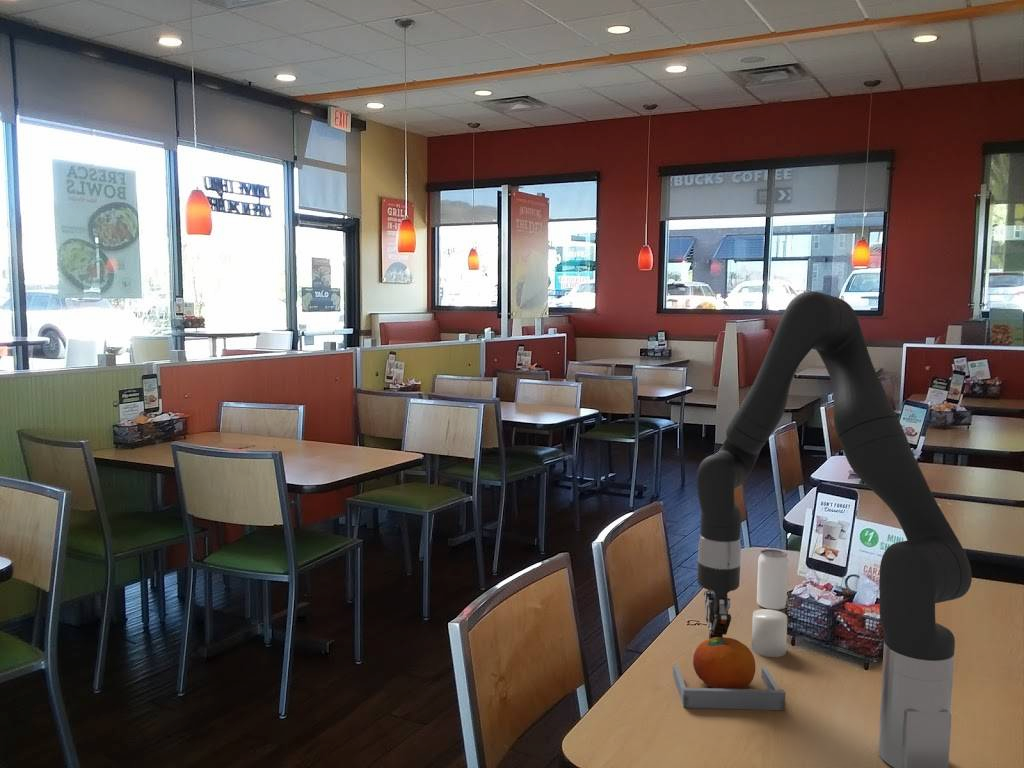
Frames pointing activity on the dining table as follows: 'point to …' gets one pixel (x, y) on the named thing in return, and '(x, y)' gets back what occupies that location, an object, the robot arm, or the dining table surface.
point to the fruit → (724, 663)
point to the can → (772, 579)
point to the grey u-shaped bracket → (732, 695)
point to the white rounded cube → (769, 633)
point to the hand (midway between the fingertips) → (715, 651)
